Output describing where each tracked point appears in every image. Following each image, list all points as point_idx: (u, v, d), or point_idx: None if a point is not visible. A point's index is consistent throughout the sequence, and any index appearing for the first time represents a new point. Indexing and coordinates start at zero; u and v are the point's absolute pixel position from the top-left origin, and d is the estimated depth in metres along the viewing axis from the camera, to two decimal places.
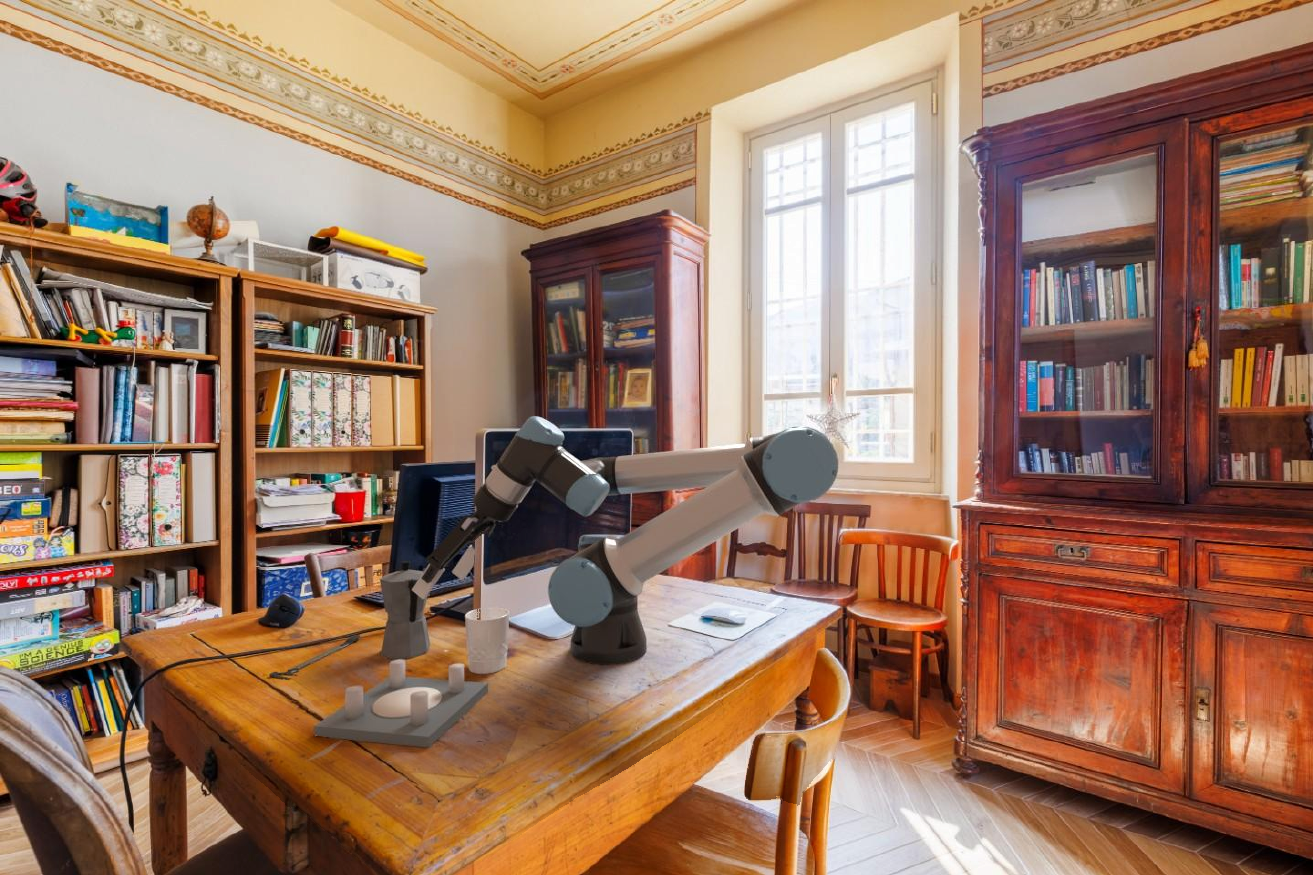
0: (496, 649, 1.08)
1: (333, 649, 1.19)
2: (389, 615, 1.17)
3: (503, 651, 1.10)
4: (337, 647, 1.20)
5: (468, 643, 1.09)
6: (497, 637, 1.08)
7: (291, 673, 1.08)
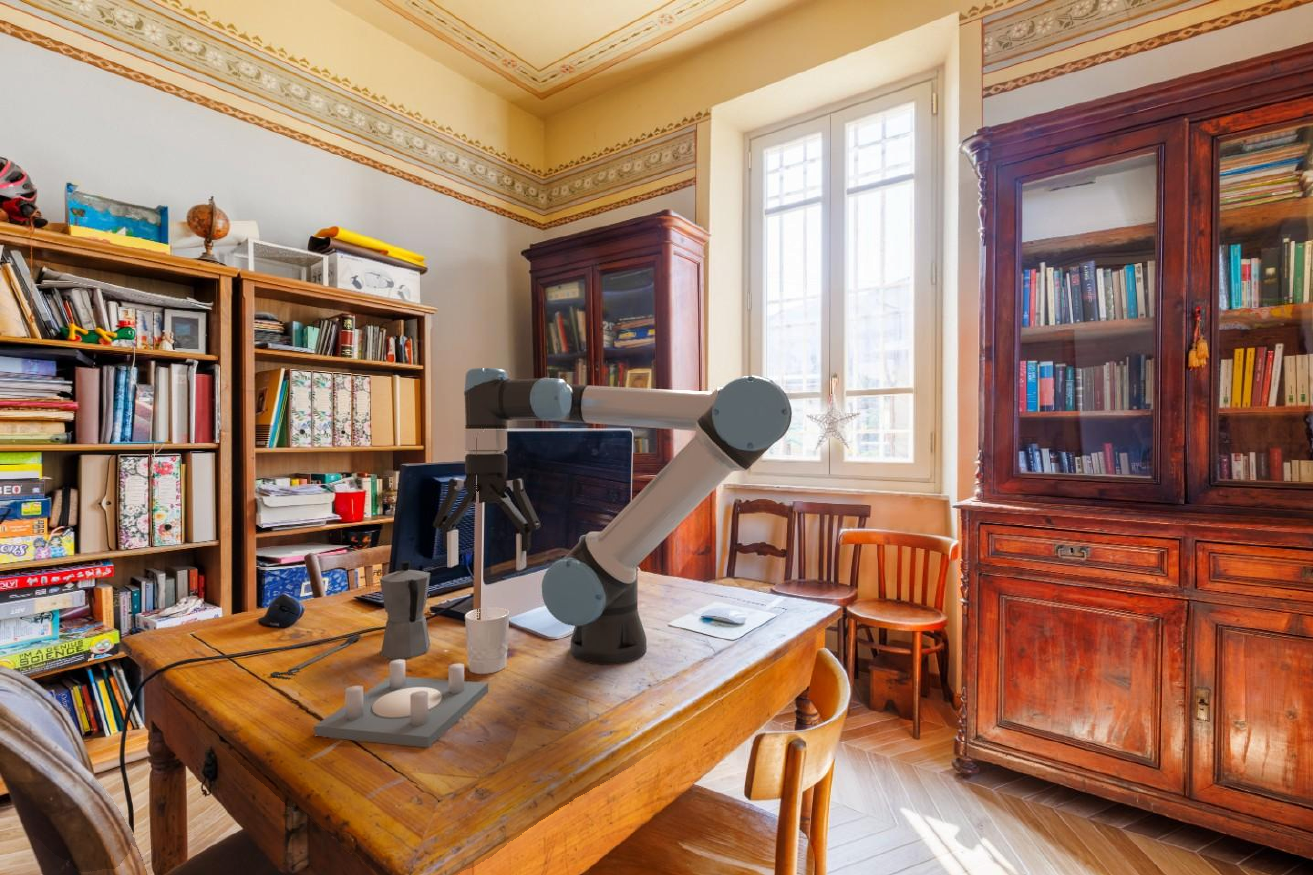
0: (496, 649, 1.08)
1: (333, 649, 1.19)
2: (389, 615, 1.17)
3: (503, 651, 1.10)
4: (337, 647, 1.20)
5: (468, 643, 1.09)
6: (497, 637, 1.08)
7: (292, 673, 1.08)
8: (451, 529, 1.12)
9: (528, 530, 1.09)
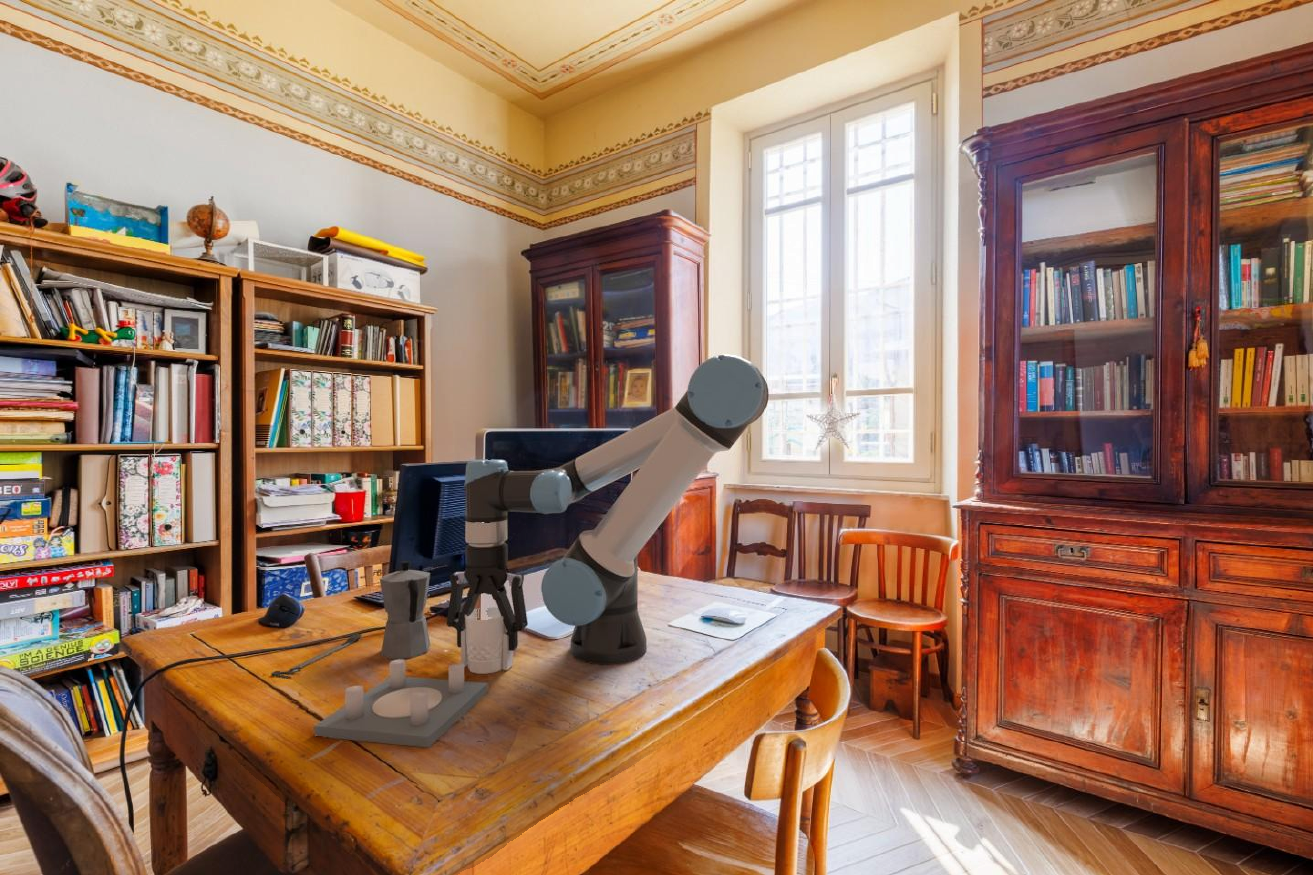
0: (496, 649, 1.08)
1: (334, 648, 1.20)
2: (389, 615, 1.17)
3: None
4: (338, 646, 1.21)
5: (468, 643, 1.09)
6: (497, 637, 1.08)
7: (293, 672, 1.09)
8: None
9: (515, 631, 1.09)
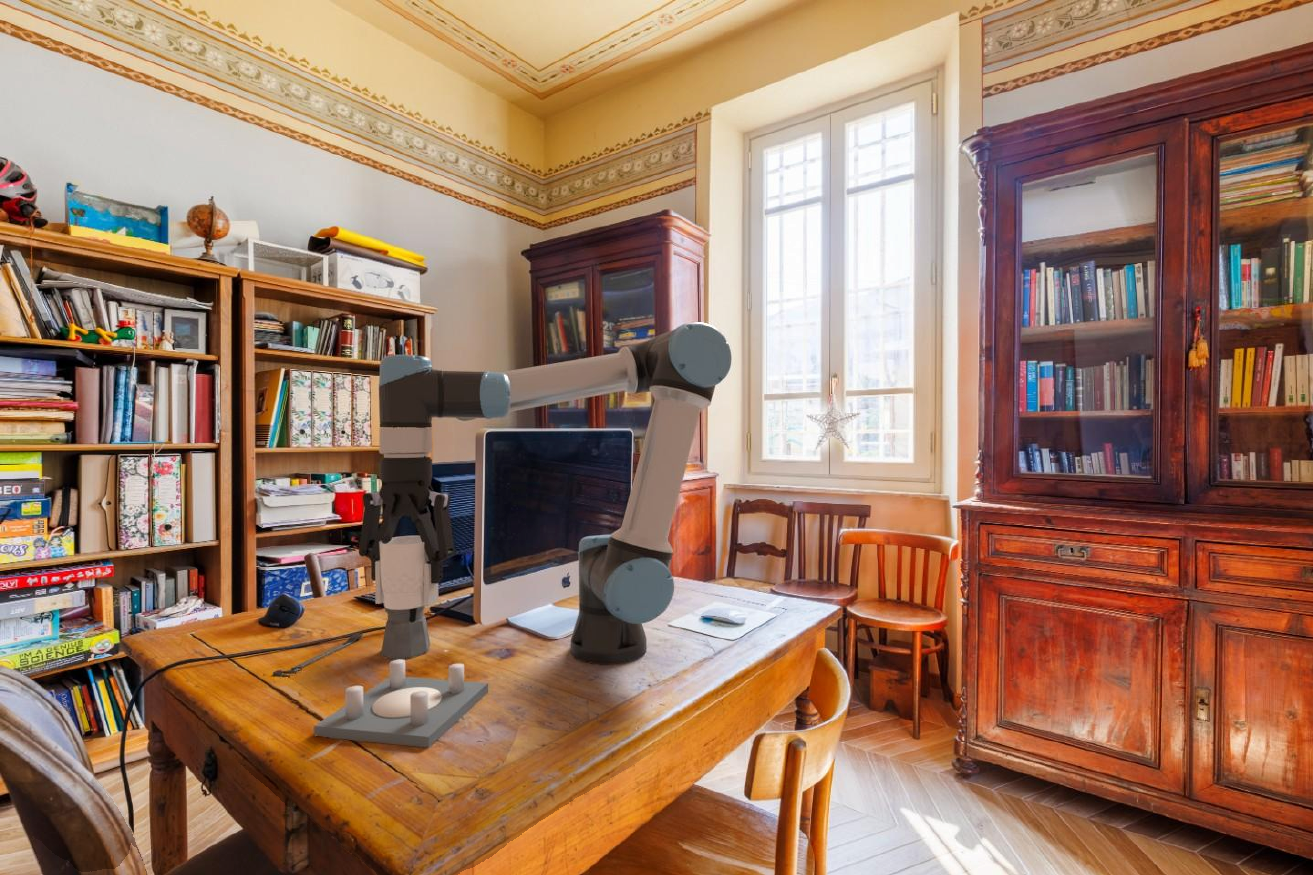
0: (415, 580, 0.90)
1: (336, 648, 1.20)
2: (389, 615, 1.17)
3: None
4: (339, 646, 1.21)
5: (382, 573, 0.91)
6: (416, 566, 0.90)
7: (294, 671, 1.09)
8: None
9: (438, 560, 0.91)
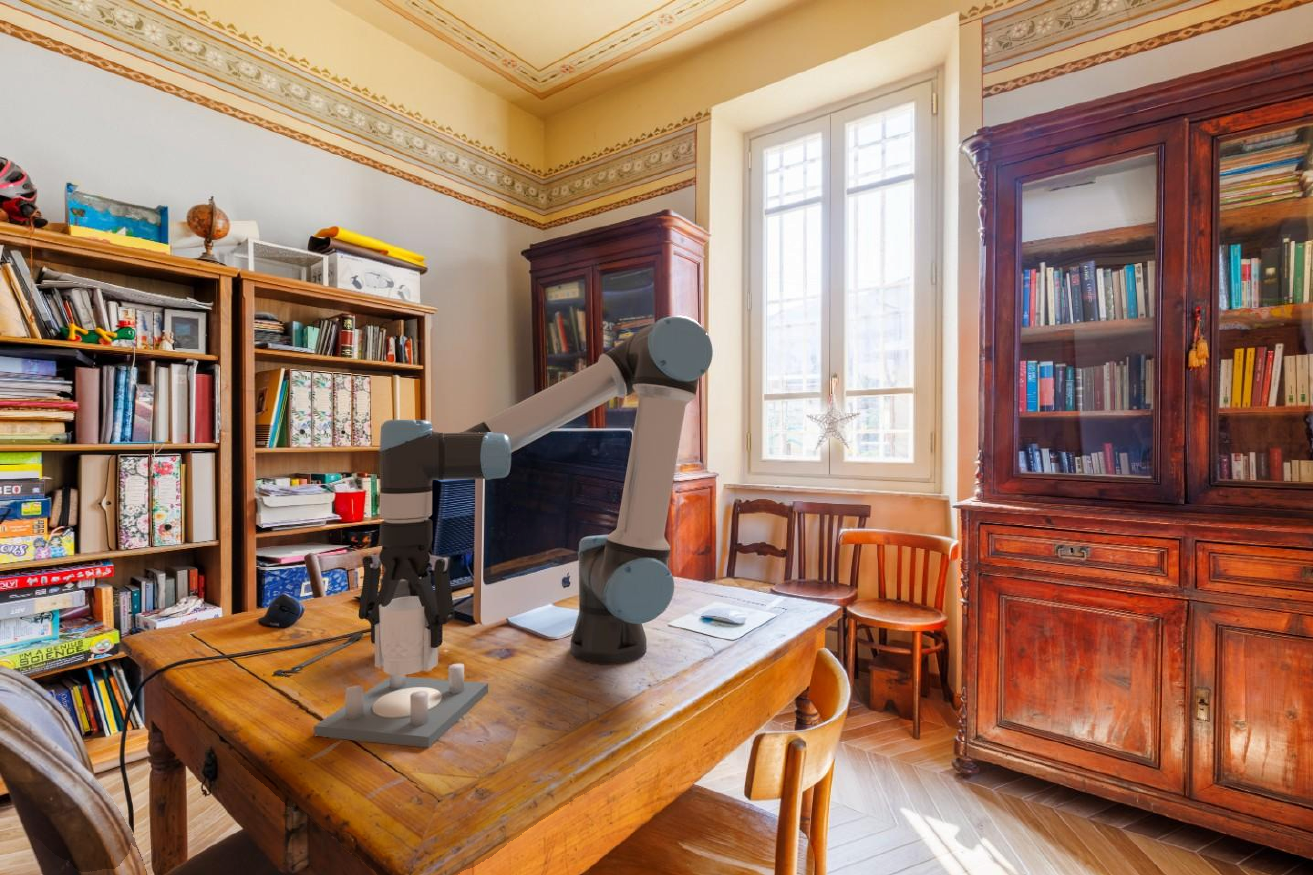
0: (415, 645, 0.90)
1: (336, 647, 1.20)
2: None
3: None
4: (340, 645, 1.21)
5: (381, 638, 0.91)
6: (416, 631, 0.90)
7: (295, 671, 1.09)
8: None
9: (438, 625, 0.91)
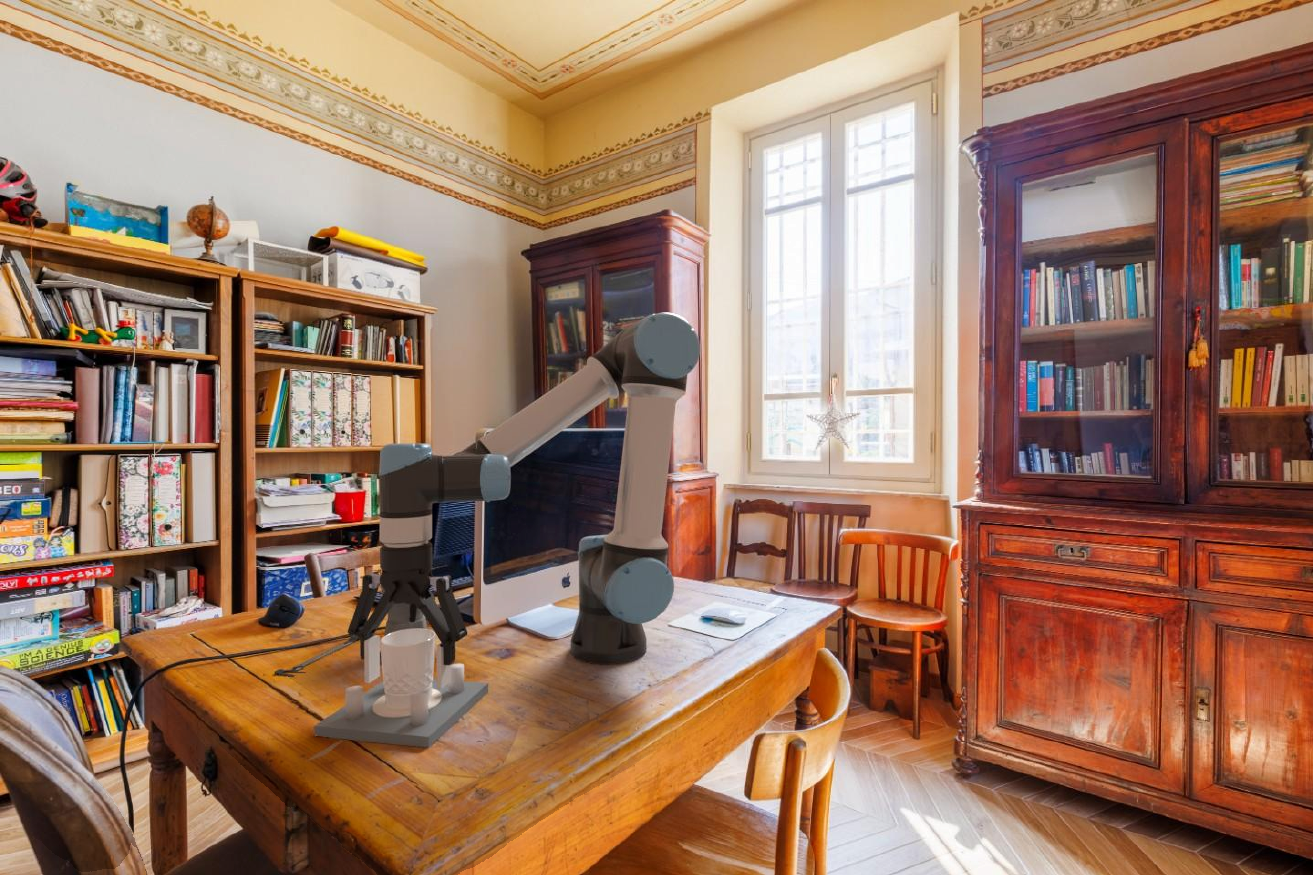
0: (416, 680, 0.91)
1: (337, 647, 1.20)
2: (389, 615, 1.17)
3: (426, 682, 0.92)
4: (341, 645, 1.22)
5: (383, 673, 0.91)
6: (418, 666, 0.90)
7: (296, 670, 1.09)
8: (370, 635, 0.94)
9: (451, 641, 0.91)
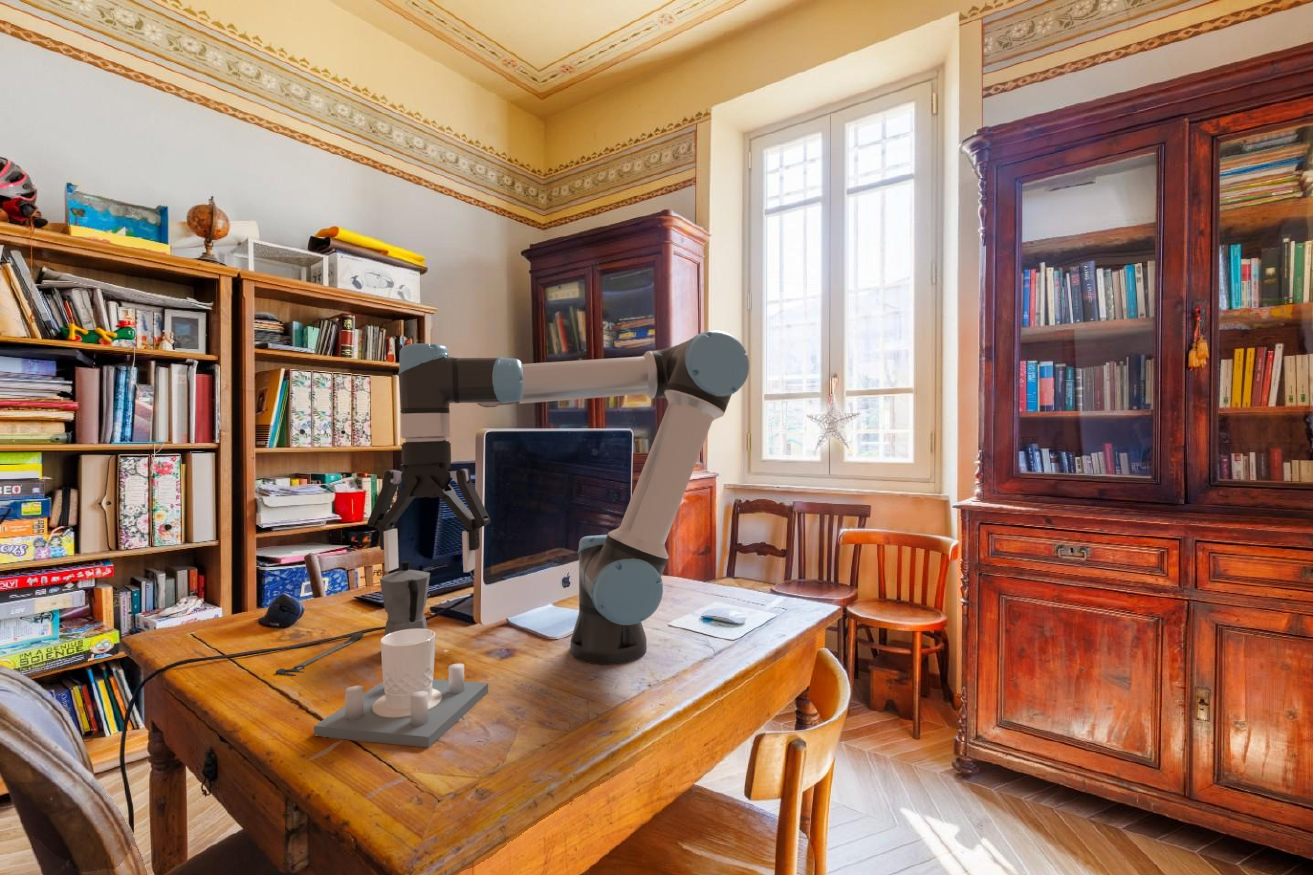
0: (416, 680, 0.91)
1: (337, 646, 1.21)
2: (389, 615, 1.17)
3: (426, 682, 0.92)
4: (341, 644, 1.22)
5: (383, 673, 0.91)
6: (418, 666, 0.91)
7: (297, 670, 1.10)
8: (389, 528, 0.99)
9: (476, 526, 0.96)
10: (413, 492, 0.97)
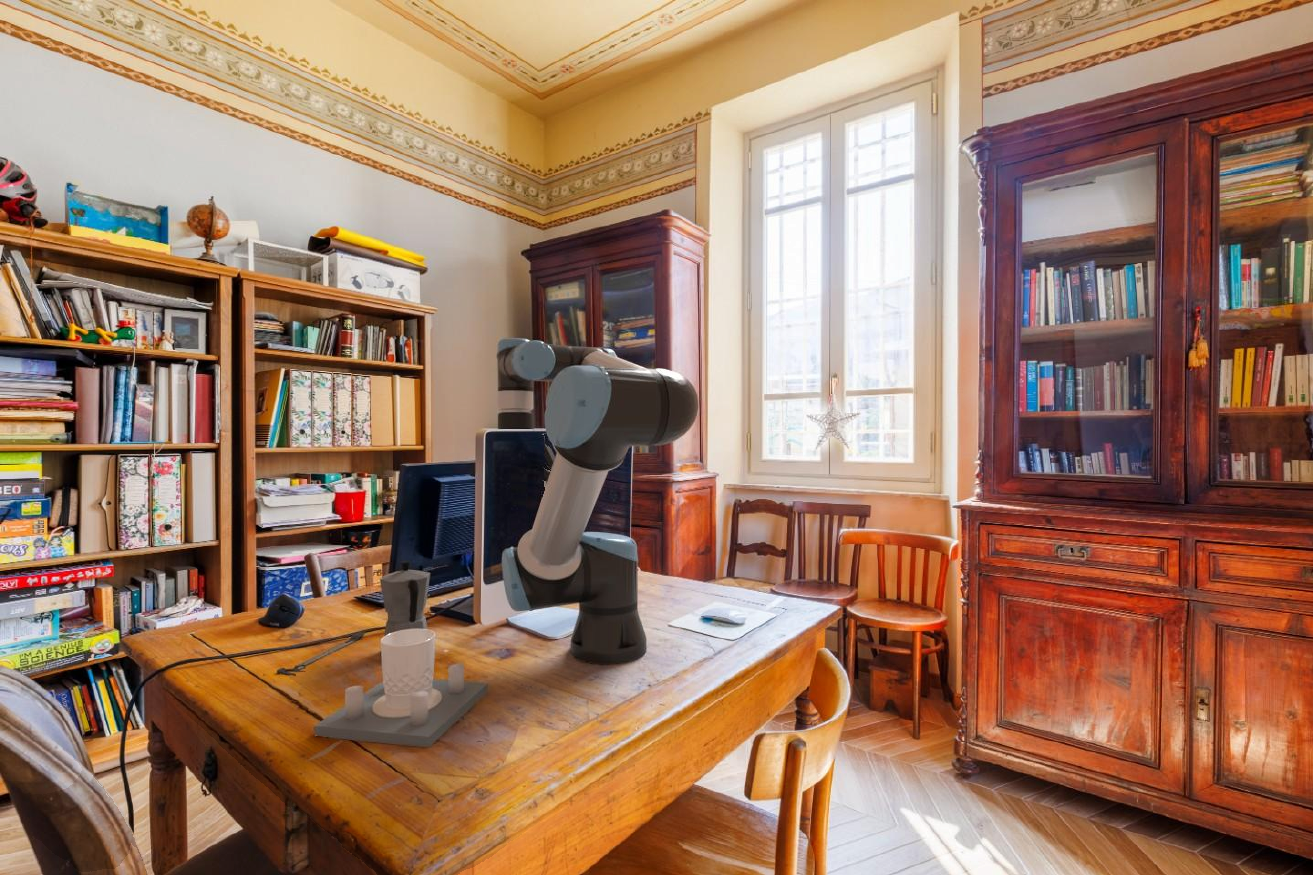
0: (416, 680, 0.91)
1: (338, 646, 1.21)
2: (389, 615, 1.17)
3: (426, 682, 0.92)
4: (342, 644, 1.22)
5: (383, 673, 0.91)
6: (418, 666, 0.91)
7: (298, 669, 1.10)
8: None
9: None
10: None
